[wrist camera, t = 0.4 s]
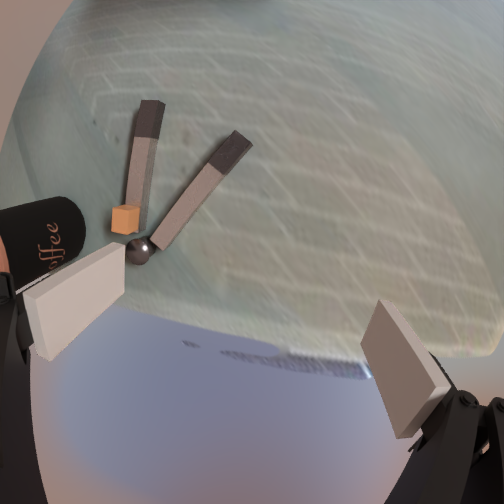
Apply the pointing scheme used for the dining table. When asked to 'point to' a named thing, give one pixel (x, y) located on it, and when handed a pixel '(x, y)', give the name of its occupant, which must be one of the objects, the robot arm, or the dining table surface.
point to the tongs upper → (201, 189)
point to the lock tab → (125, 219)
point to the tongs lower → (143, 174)
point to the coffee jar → (39, 238)
